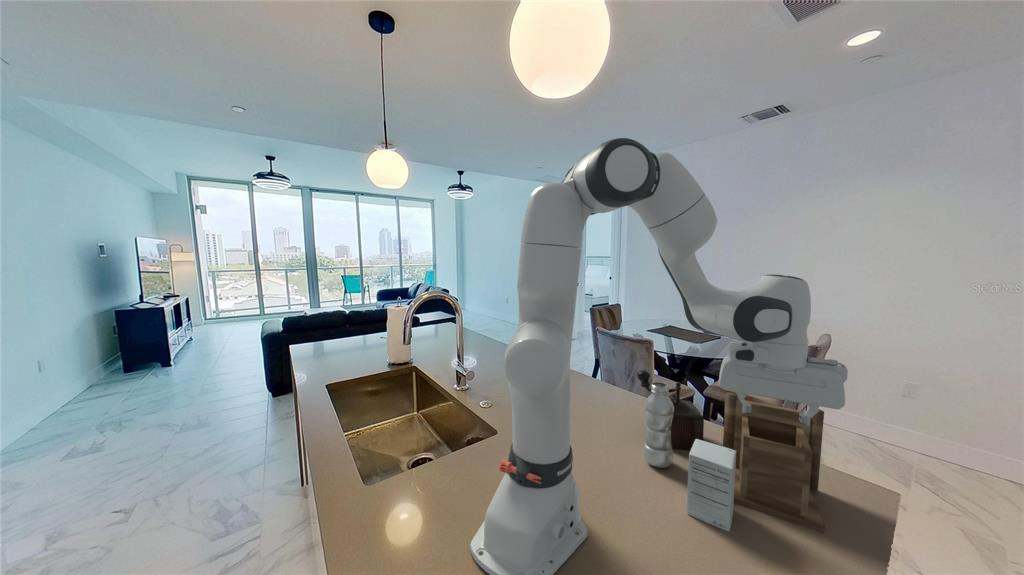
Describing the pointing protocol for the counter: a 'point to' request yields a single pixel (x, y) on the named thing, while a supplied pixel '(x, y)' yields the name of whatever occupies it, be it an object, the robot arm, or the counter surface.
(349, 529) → the counter surface
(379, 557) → the counter surface
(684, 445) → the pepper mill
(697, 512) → the supplement box
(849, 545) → the counter surface
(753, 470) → the caddy
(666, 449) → the plastic bottle
